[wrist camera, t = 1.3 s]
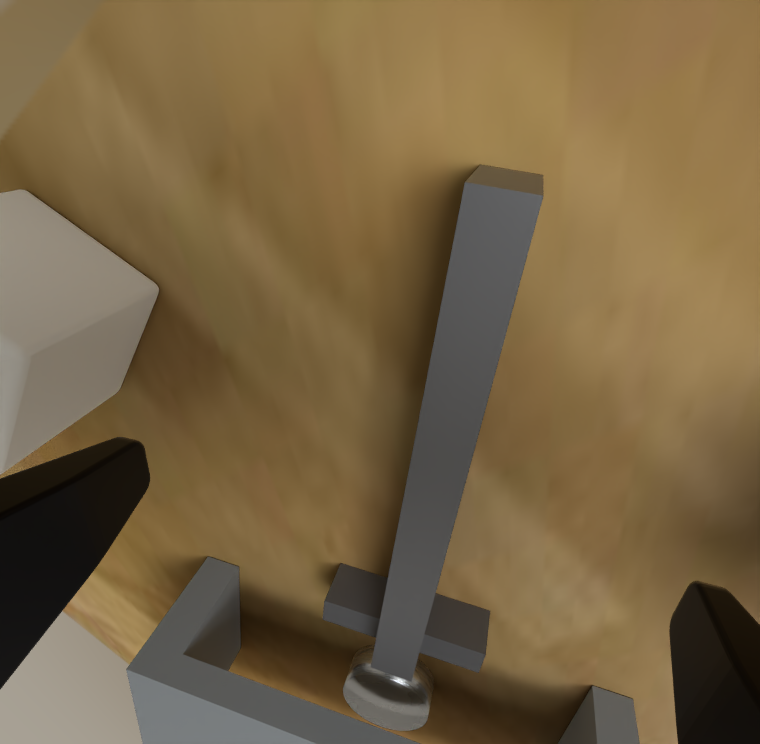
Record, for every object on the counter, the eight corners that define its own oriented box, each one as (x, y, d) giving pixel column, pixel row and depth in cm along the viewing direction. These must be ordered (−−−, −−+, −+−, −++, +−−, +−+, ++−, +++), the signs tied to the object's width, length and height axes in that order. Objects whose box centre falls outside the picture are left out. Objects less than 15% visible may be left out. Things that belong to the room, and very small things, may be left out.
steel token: (441, 660, 29) (435, 695, 27) (427, 706, 32) (420, 741, 30) (358, 631, 30) (346, 663, 28) (350, 678, 33) (339, 711, 31)
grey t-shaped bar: (641, 191, 16) (669, 217, 12) (483, 627, 27) (475, 704, 23) (391, 149, 17) (355, 162, 14) (339, 580, 28) (311, 646, 25)
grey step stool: (632, 698, 26) (659, 877, 20) (582, 772, 30) (592, 939, 24) (208, 556, 30) (126, 669, 24) (213, 637, 34) (144, 751, 28)
